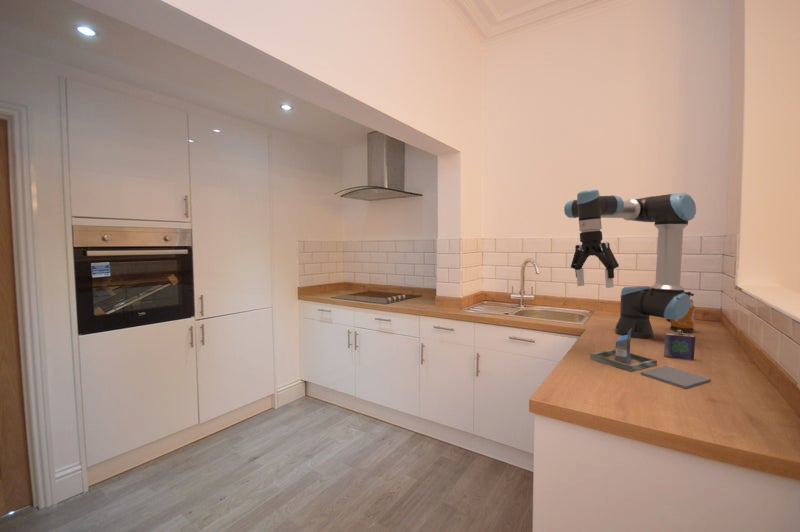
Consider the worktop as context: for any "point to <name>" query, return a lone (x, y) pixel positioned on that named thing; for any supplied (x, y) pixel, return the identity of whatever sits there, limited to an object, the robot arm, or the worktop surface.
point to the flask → (679, 346)
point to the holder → (644, 363)
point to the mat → (675, 377)
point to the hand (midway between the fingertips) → (594, 286)
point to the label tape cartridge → (623, 348)
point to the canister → (685, 319)
